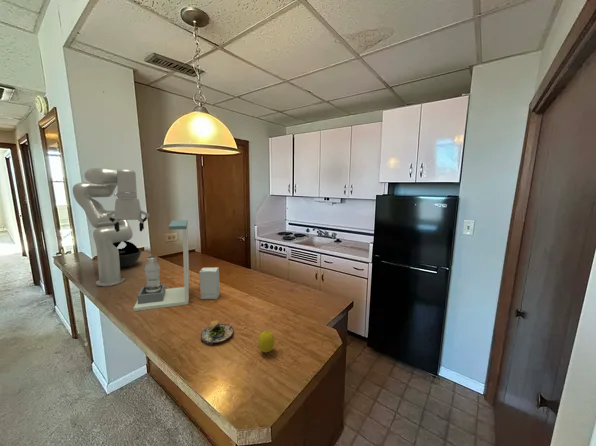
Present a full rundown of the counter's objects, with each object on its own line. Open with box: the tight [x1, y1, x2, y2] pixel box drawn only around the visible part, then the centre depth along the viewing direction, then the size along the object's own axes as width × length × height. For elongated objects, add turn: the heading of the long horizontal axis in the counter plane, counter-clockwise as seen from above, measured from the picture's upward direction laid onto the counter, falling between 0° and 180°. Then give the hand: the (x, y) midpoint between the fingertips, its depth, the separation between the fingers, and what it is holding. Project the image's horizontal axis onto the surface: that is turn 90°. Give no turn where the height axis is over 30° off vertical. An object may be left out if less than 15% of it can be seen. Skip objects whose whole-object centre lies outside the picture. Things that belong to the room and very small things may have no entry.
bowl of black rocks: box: [113, 240, 142, 268], centre depth 163 cm, size 20×20×19 cm
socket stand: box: [132, 219, 190, 312], centre depth 119 cm, size 18×22×38 cm
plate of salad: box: [200, 318, 234, 347], centre depth 94 cm, size 12×12×8 cm
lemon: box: [257, 330, 275, 354], centre depth 85 cm, size 6×6×8 cm
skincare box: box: [198, 267, 221, 300], centre depth 125 cm, size 8×6×15 cm
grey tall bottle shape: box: [143, 255, 161, 294], centre depth 118 cm, size 6×7×20 cm
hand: (129, 231), depth 121 cm, fingers open, 9 cm apart
